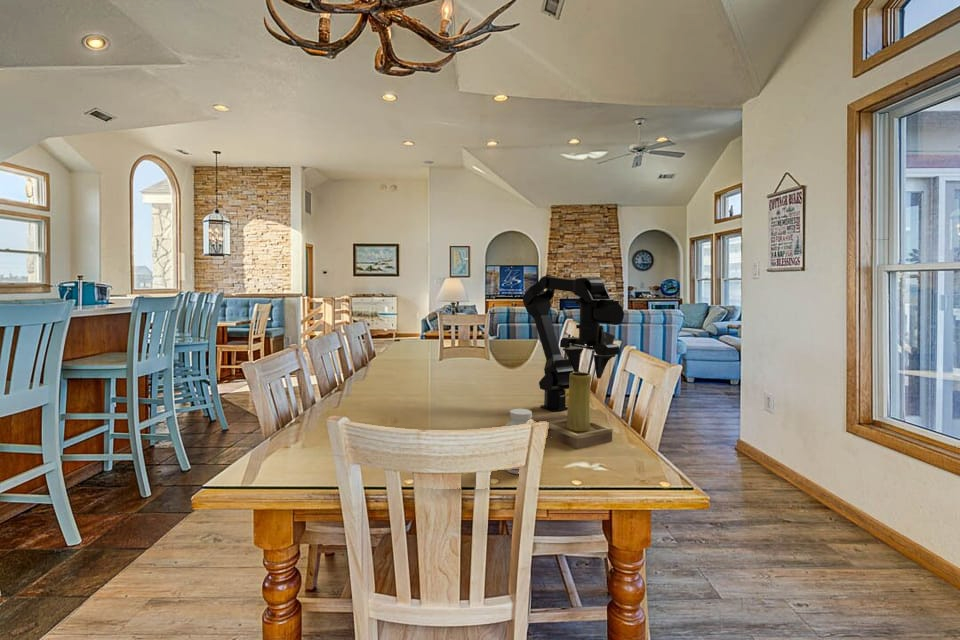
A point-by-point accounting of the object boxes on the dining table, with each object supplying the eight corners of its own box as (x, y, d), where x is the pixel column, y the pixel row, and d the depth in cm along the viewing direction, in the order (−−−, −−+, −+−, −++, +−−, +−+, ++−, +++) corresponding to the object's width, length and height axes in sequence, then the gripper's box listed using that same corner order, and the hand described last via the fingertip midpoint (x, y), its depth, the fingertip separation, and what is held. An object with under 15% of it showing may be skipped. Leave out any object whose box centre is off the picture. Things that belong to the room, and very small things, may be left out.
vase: (593, 427, 135) (596, 373, 134) (584, 433, 130) (586, 377, 129) (572, 423, 139) (573, 370, 138) (562, 429, 134) (564, 374, 132)
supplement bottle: (518, 461, 117) (519, 405, 116) (541, 470, 112) (543, 411, 111) (497, 469, 112) (499, 410, 111) (520, 478, 108) (522, 417, 107)
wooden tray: (526, 427, 143) (526, 415, 143) (559, 421, 150) (560, 410, 149) (576, 449, 126) (577, 435, 126) (611, 441, 133) (612, 428, 132)
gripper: (634, 323, 146) (631, 378, 147) (587, 318, 162) (585, 367, 163) (605, 325, 140) (603, 382, 141) (559, 319, 156) (558, 370, 157)
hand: (587, 375), depth 151 cm, fingers open, 9 cm apart
